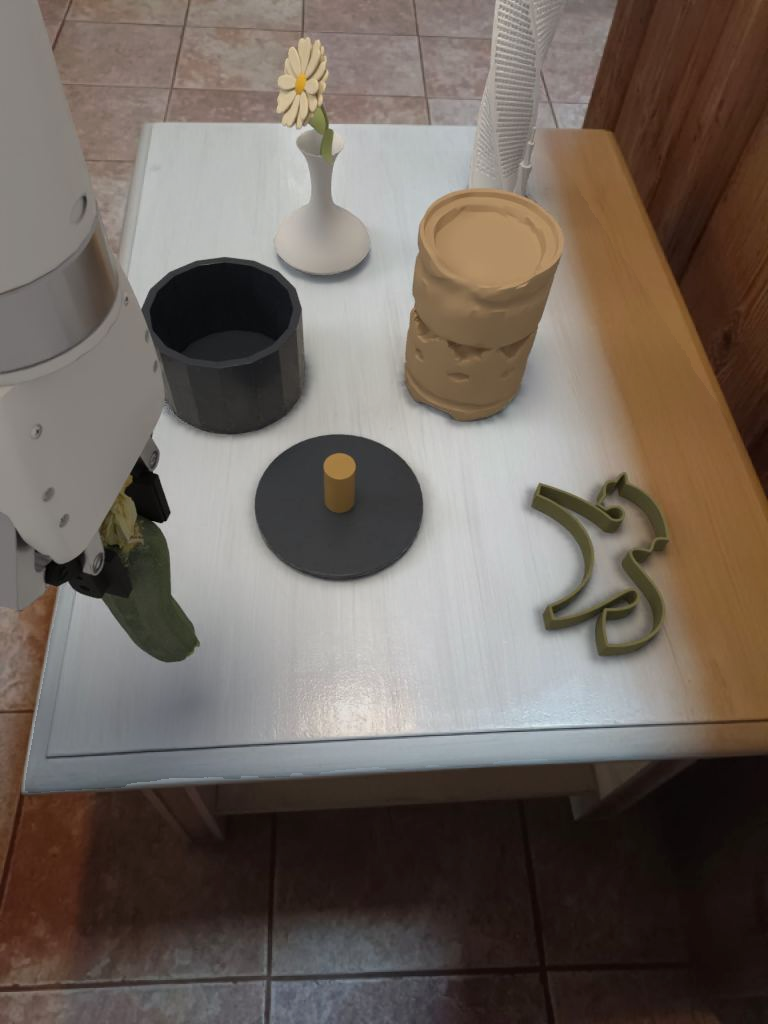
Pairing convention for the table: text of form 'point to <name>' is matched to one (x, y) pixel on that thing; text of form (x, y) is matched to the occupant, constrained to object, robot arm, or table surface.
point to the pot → (227, 343)
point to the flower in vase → (315, 174)
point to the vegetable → (146, 584)
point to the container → (478, 299)
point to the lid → (338, 506)
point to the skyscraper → (512, 93)
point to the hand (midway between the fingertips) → (122, 546)
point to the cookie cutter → (608, 521)
